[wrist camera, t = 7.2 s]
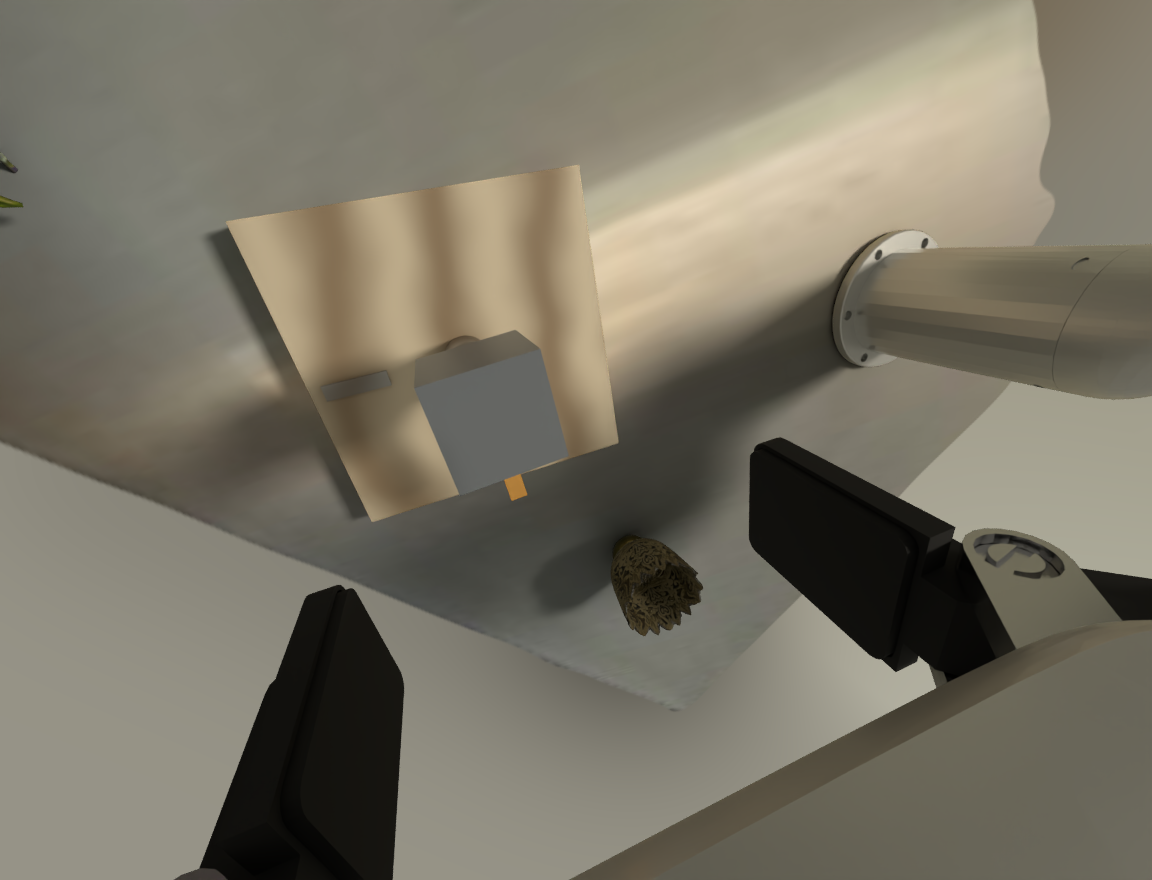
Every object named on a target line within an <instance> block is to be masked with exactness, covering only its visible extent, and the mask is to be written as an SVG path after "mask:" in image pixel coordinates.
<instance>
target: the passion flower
mask: <svg viewBox="0 0 1152 880" xmlns="http://www.w3.org/2000/svg"><path fill="white" fill-rule="evenodd" d="M0 161H1V162H2V163H3V164H4V165H5V166H6V167H7V168H9V169H10V170H11V171H12V172H13V173H16V172H17V171H18V169H17V168H16V167H15V166H14V165H12V164H11V163H10V162H9V161H8V160H7V158H6V157H5V156H4V155H3V154H2V153H1V152H0ZM0 207H2V208H7V207H23V204H22V203H20V202H17V201H13V200H11V199H8V198H5V197H3V196H0Z"/></svg>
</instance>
